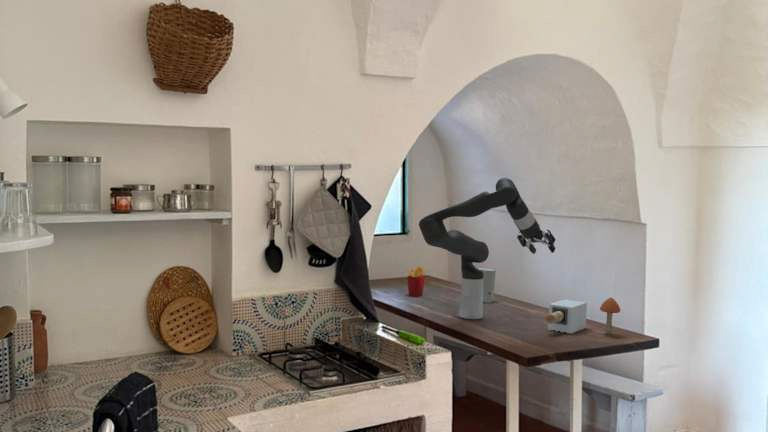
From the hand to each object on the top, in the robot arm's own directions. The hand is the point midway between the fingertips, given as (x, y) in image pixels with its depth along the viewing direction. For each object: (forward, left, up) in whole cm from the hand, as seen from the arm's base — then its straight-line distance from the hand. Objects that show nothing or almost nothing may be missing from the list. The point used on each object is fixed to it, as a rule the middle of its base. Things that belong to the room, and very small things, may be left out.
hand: (544, 251), depth 298 cm
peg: (+8, -1, -28) cm, 29 cm away
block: (+17, +3, -33) cm, 37 cm away
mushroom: (+25, -12, -33) cm, 43 cm away
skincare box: (+23, +64, -33) cm, 75 cm away
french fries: (+2, +90, -33) cm, 96 cm away
